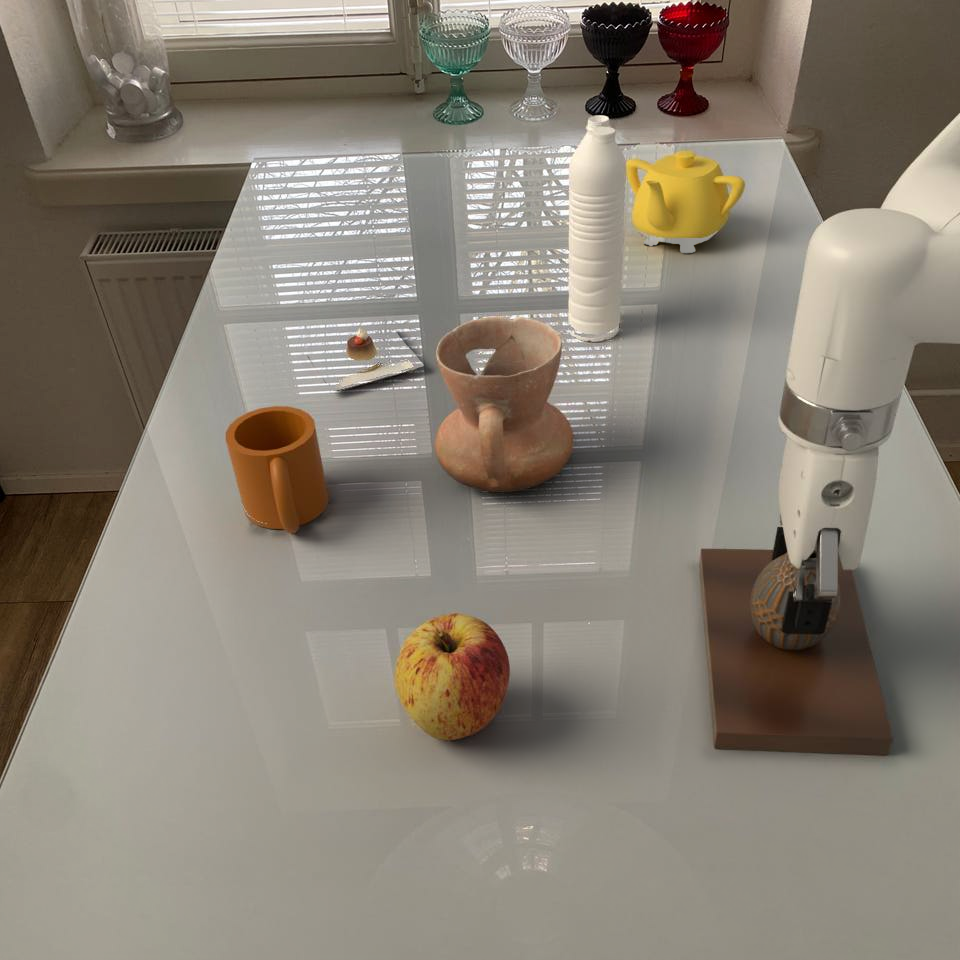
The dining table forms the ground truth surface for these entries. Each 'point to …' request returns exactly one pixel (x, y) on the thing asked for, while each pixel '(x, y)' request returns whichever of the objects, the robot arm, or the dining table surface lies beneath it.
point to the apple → (452, 675)
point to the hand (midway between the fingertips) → (796, 596)
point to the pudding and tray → (365, 350)
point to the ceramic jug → (502, 405)
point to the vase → (783, 604)
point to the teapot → (682, 196)
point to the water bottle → (596, 231)
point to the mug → (278, 467)
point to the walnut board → (787, 670)
